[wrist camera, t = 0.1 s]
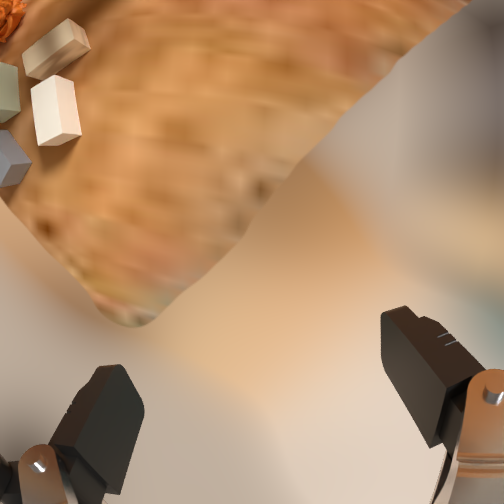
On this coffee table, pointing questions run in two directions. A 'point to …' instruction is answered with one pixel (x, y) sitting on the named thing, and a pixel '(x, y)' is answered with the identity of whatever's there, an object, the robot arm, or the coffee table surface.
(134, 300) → the coffee table surface
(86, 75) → the coffee table surface
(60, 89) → the cream brick
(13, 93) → the sage brick
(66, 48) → the oak brick
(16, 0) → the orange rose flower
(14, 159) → the slate brick
